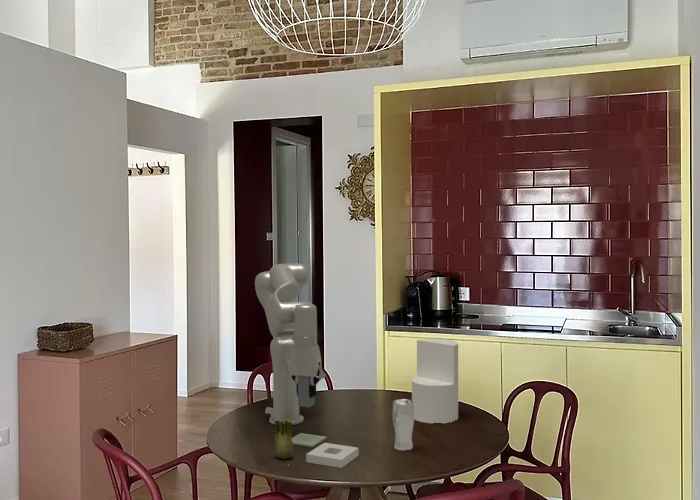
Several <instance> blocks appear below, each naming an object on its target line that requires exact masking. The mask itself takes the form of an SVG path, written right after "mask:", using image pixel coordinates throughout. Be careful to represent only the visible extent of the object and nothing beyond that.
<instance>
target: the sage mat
mask: <svg viewBox="0 0 700 500" xmlns="http://www.w3.org/2000/svg"><path fill="white" fill-rule="evenodd" d="M327 438H328V437H327V436H324V435H317V434H310V433H305V432H304V433H303V432H299V434H296V435H294V436H293V437H292V441H293V446H295V445H296V446H302V447H308V448H314V447H315V446H317V445H319V444H320V443H321V442H324V441H325V440H327Z"/></svg>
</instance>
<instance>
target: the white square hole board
mask: <svg viewBox="0 0 700 500" xmlns="http://www.w3.org/2000/svg"><path fill="white" fill-rule="evenodd" d="M359 449H360V448H359V447H355V446H351V445H344V444H343V445H341V444H335V443H331V442H323V443H321V444H320V445H318V446H316V447H315V448H314V449H312V450H310V451H309V452H307V453H306V454H305V462H306V463H309V464H315V465H320V466H326V467H334V468H339V469H343V468H344V467H345V466H347V465H348V464H349V463H351V462H352V461H353V460H355V459H357V458H358V457H359V455H360V454H359V453H360V451H359Z"/></svg>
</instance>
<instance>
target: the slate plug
mask: <svg viewBox="0 0 700 500" xmlns="http://www.w3.org/2000/svg"><path fill="white" fill-rule="evenodd" d="M310 385H311V383H310V377H304V376H298V406H299V407H304V408H311V407H312V406H315V402H316V401H315V399H316V398H315V397H316V396H314V397H312V398H310V397H309V386H310Z"/></svg>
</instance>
